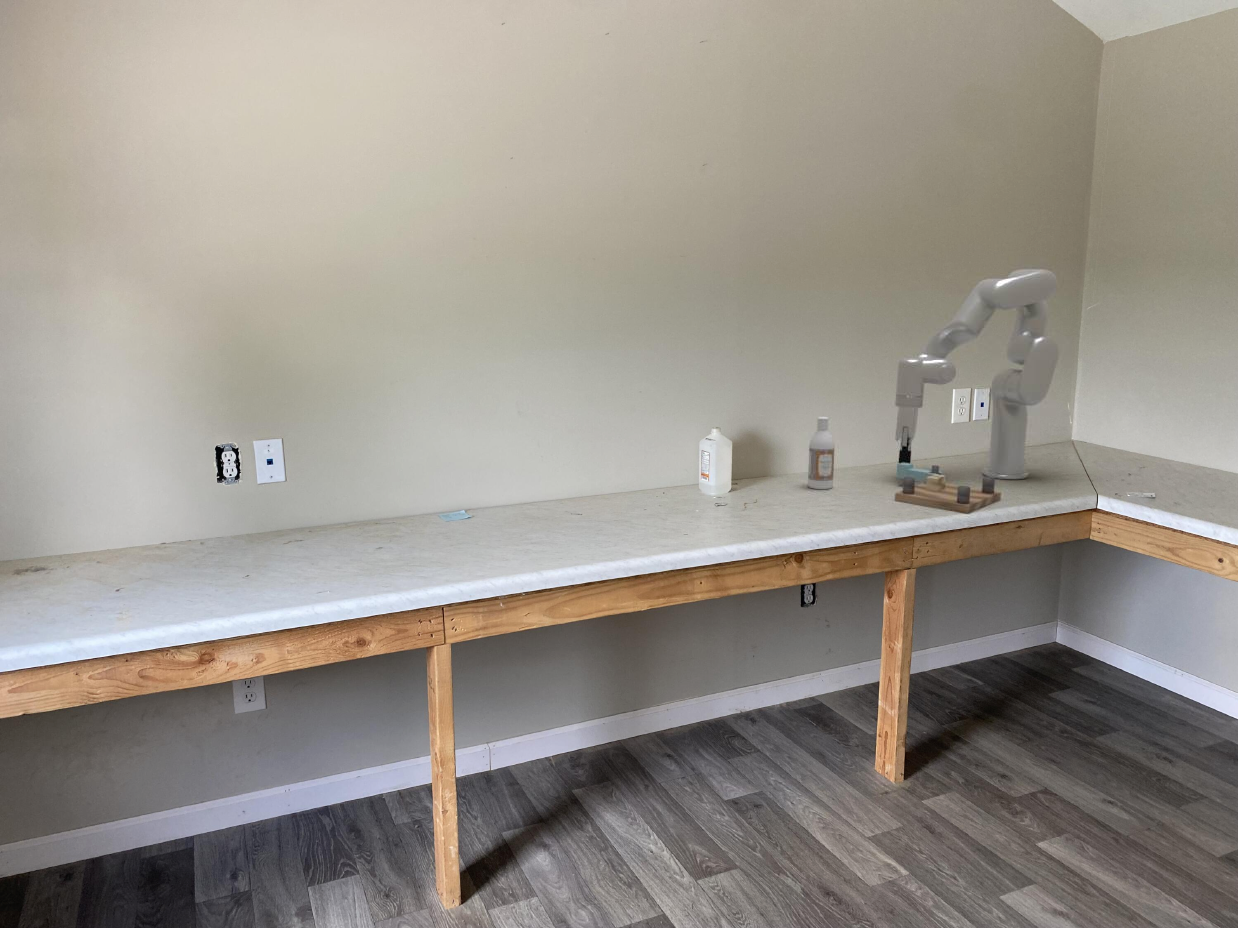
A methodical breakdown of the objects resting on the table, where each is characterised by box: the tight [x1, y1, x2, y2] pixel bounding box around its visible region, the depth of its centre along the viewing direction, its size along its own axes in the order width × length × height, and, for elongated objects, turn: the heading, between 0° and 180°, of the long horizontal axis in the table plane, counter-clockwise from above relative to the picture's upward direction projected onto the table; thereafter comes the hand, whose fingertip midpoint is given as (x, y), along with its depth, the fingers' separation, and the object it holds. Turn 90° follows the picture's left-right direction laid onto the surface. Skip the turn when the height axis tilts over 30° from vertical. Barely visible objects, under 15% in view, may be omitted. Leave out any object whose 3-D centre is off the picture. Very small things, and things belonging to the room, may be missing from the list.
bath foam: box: [807, 416, 835, 490], centre depth 258 cm, size 7×7×20 cm
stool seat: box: [894, 464, 1002, 514], centre depth 243 cm, size 20×20×7 cm
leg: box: [896, 462, 944, 483], centre depth 257 cm, size 12×4×4 cm, turn 45°
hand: (904, 463), depth 266 cm, fingers closed
